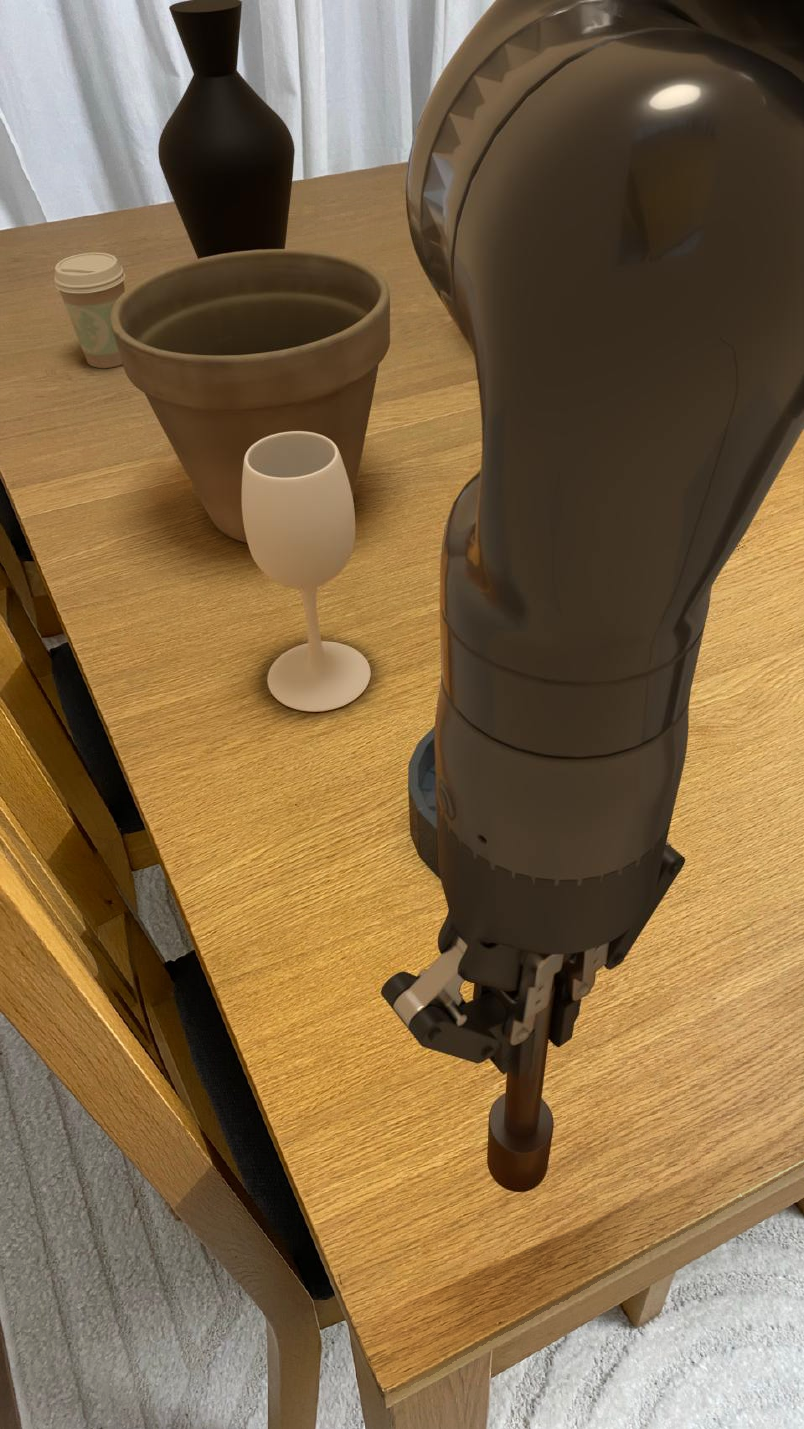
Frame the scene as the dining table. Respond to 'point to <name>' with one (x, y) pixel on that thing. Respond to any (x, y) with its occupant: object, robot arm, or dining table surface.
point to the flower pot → (254, 359)
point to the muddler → (523, 1120)
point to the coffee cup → (92, 302)
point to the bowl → (424, 801)
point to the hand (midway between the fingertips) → (529, 1041)
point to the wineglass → (304, 557)
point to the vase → (224, 142)
